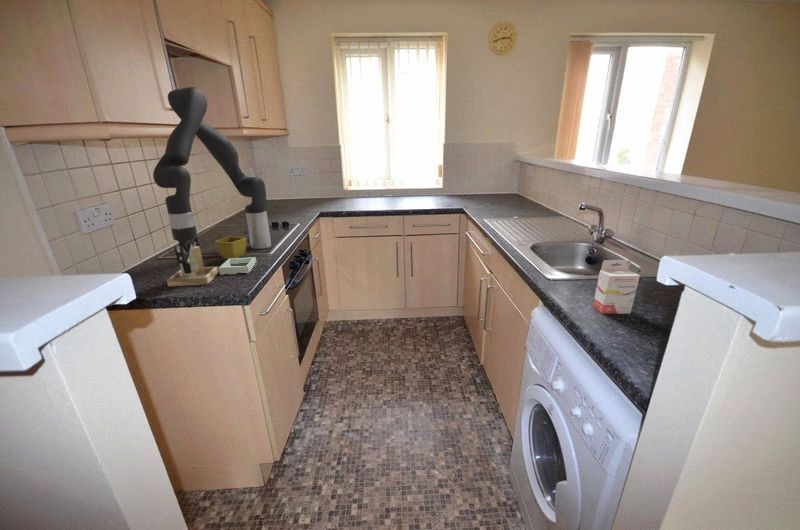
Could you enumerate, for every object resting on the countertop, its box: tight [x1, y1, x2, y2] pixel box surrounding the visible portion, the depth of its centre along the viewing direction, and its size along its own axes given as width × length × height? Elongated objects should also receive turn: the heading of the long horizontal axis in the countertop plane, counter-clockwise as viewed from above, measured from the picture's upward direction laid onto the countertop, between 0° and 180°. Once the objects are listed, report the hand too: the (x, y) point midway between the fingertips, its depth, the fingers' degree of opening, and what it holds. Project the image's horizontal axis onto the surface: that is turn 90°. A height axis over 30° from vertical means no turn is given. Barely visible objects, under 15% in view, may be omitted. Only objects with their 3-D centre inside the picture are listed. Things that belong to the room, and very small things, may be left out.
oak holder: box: [166, 266, 220, 287], centre depth 126 cm, size 12×13×2 cm
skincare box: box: [179, 246, 206, 278], centre depth 124 cm, size 6×4×12 cm
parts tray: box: [218, 256, 257, 276], centre depth 136 cm, size 12×11×3 cm
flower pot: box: [214, 236, 247, 260], centre depth 147 cm, size 9×9×9 cm
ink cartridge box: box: [592, 259, 641, 315], centre depth 96 cm, size 9×5×15 cm, turn 92°
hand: (192, 269), depth 125 cm, fingers closed on skincare box, 7 cm apart
